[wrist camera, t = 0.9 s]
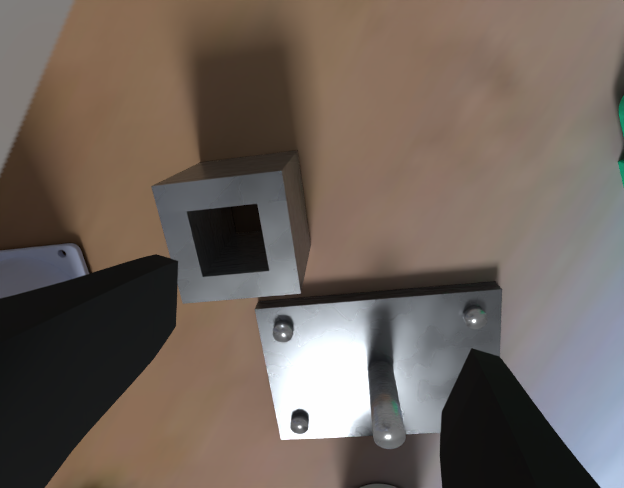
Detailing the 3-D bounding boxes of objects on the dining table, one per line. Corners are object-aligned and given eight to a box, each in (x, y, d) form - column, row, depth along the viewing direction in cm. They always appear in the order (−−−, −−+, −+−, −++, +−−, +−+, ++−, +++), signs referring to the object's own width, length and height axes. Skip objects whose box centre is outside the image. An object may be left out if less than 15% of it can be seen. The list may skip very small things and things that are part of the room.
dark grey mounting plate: (283, 428, 28) (268, 511, 23) (258, 301, 25) (233, 362, 19) (491, 418, 27) (531, 504, 21) (495, 281, 23) (544, 341, 18)
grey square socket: (220, 253, 24) (182, 303, 18) (200, 162, 22) (151, 186, 16) (310, 245, 23) (300, 293, 18) (297, 150, 21) (281, 170, 16)
